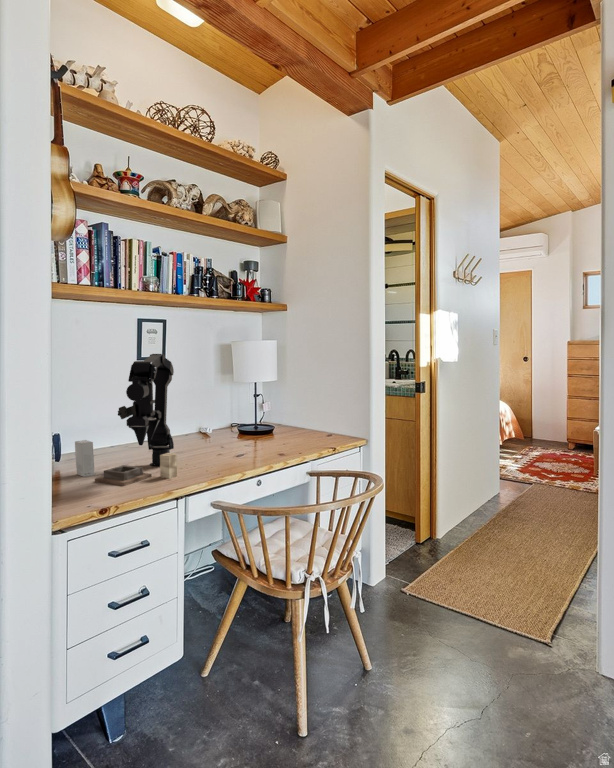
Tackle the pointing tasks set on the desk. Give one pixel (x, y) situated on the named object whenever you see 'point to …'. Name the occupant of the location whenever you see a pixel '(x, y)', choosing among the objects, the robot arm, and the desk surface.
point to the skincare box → (84, 458)
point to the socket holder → (123, 475)
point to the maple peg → (168, 465)
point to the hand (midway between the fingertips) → (145, 442)
